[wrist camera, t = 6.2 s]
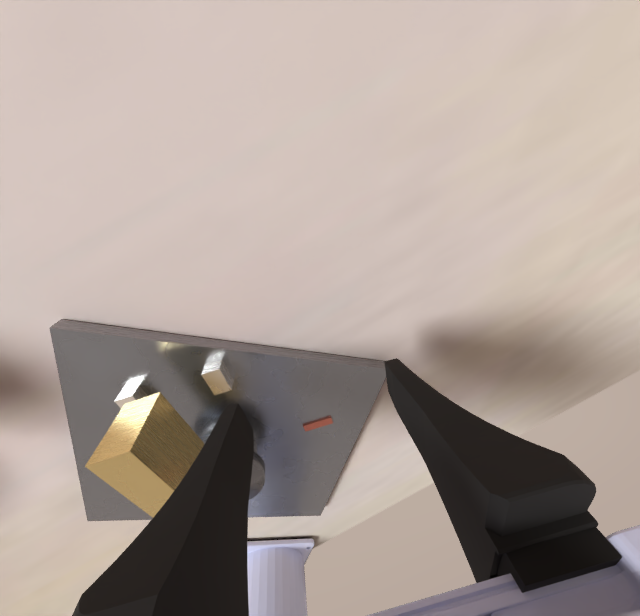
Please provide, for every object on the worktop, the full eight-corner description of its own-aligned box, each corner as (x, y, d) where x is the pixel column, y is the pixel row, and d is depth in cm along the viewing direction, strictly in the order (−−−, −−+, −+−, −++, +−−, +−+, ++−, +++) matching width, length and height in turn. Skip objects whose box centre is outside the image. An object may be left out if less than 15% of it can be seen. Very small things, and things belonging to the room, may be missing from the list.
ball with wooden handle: (277, 479, 18) (277, 548, 15) (205, 502, 19) (190, 576, 15) (198, 369, 13) (172, 437, 10) (100, 402, 13) (42, 480, 10)
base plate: (319, 505, 25) (322, 532, 23) (94, 508, 21) (76, 542, 19) (385, 361, 18) (397, 384, 16) (61, 319, 13) (27, 343, 12)
